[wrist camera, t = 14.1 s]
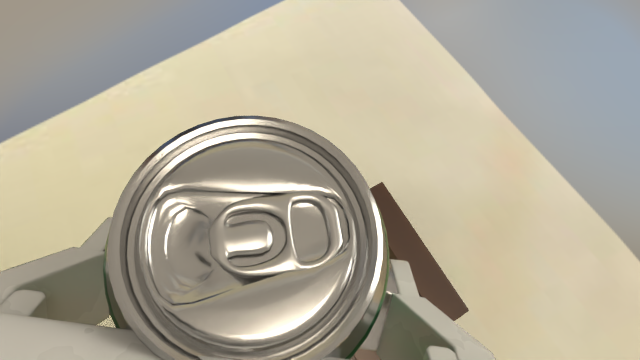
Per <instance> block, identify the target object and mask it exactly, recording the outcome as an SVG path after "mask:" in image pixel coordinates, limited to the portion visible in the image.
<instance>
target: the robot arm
mask: <svg viewBox="0 0 640 360" xmlns="http://www.w3.org/2000/svg"><path fill="white" fill-rule="evenodd" d="M112 218H113V217H109V218H107V219H106V220H105V221H104V222H103V223H102V224H101V225H100V226H99V227H98V228H97V229H96V231H95V232H94V233H93V234H92V235H91V236H90V237H89V238H88V239H87V240H86V241H85V242H84V243H83V245H82V246H81V247H80V248H78V247H72V248H69V249H66V250H63V251H60V252H57V253H54V254H51V255H48V256H45V257H42V258H39V259H36V260H34V261H31V262H28V263H25V264H22V265H19V266H16V267H13V268H10V269H7V270H4V271H1V272H0V360H163V359H161V358H159V357H157V356H156V355H154V354H153V353H152V352H151V351H150V350H149V349H148V348H147V347H146V346H145V345H144V344H143V343H142V342H141V341H140V340H139V339H138V338H137V336H136V335H135V334H134V332H133V331H132V330H127V329H119V328H112V327H105V326H97V324H99V323H100V322H102V321H103V320H105V319H106V318H108V317H109V315H111V314H110V311H109V307H108V303H107V299H106V295H105V288H104V276H103V264H104V251H105V245H106V241H107V237H108V233H109V228H110V225H111V222H112ZM359 349H364V350H370V351H376V353H377V355H378V356H379V357H380V359H381V360H496V359H495V357H494V355H493V353H492V352H491V351H490V350H488V349H487V348H486V347H485V346H483V345H482V344H481V343H480V342H478V341H477V340H476V339H475V338H474V337H472V336H471V335H470V334H469V333H467V332H466V331H465V330H464V329H463V328H461V327H460V326H459V325H458V324H456V323H455V322H454V321H453V320H452V319H450V318H449V317H448V316H447V315H445V314H444V313H443V312H442V311H441V310H439V309H438V308H437V307H436V306H434V305H433V304H432V303H431V302H429V301H428V300H427V299H426V298H423V297H420V296H419V293H418V290H417V287H416V284H415V281H414V278H413V274H412V271H411V268H410V265H409V263H408V262H407V261H404V260H394V259H389V277H388V283H387V289H386V294H385V298H384V301H383V304H382V307H381V310H380V313H379V316H378V318H377V320H376V322H375V324H374V325H373V327H372V329H371V331H370V333H369V335H368V337H367V338H366V340H365V341H364V342H363V344H362V345H361V346H360V348H359ZM198 357H199V358H200V359H202V360H233V359H227V358H217V357H206V356H198ZM322 360H350V359H342V358H335V357H328V358H324V359H322Z"/></svg>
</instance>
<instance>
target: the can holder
mask: <svg viewBox="0 0 640 360" xmlns="http://www.w3.org/2000/svg"><path fill="white" fill-rule="evenodd" d="M370 191H371V193H372V195H373V197H374V199H375V201H376V203H377V205H378V208H379V210H380V212H381V215H382V218H383V222H384V225H385V228H386V232H387V239H388V246H389V259H394V260H404V261H407V262H408V263H409V265H410V268H411V271H412V274H413V278H414V281H415V284H416V287H417V290H418V293H419V296H420V297H423V298H426V299H427V300H428V301H429V302H431V303H432V304H433V305H434V306H436V307H437V308H438V309H439V310H441V311H442V312H443V313H444V314H445V315H447V316H448V317H449V318H450V319H452V320H453V321H455V320H456V319H458V318H459V317H461V316H462V315H464V314H465V313H466V312H468V311H469V310H468V308H467V307H466V305H465V304H464V302H463V301H462V299H461V298H460V296H459V295H458V293H457V292H456V290H455V289H454V288H453V286H452V285H451V283H450V282H449V280H448V279H447V277H446V276H445V274H444V273H443V271H442V270H441V268H440V267H439V265H438V264H437V262H436V261H435V259H434V258H433V256H432V255H431V253H430V252H429V251H428V249H427V248H426V246H425V245H424V243H423V242H422V240H421V239H420V237H419V236H418V234H417V233H416V231H415V230H414V228H413V227H412V225H411V224H410V222H409V221H408V219H407V218H406V216H405V215H404V214H403V212H402V211H401V209H400V208H399V206H398V205H397V203H396V202H395V200H394V199H393V197H392V196H391V194H390V193H389V191H388V190H387V188H386V187H385V185H384V184H383V182H381V183H379V184H378V185H376V186H374V187H372V188H370ZM350 360H381V359H380V357H379V356H378V355H377V353H376V351H370V350H364V349H358V350H357V352H356V353H355V354H354V356H353V357H352V358H351V359H350Z"/></svg>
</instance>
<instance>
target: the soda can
mask: <svg viewBox="0 0 640 360" xmlns="http://www.w3.org/2000/svg"><path fill="white" fill-rule="evenodd" d="M103 276H104V288H105V295H106V299H107V303H108V307H109V311H110V314H111V317H112V319H113V322H114V324H115V326H116V328H119V329H127V330H132V331H133V332H134V334H135V335H136V336H137V338H138V339H139V340H140V341H141V342H142V343H143V344H144V345H145V346H146V347H147V348H148V349H149V350H150V351H151V352H152V353H153V354H154V355H156V356H157V357H159V358H161V359H163V360H202V359H200V358H199V357H198V356H206V357H217V358H227V359H233V360H322V359H324V358H328V357H335V358H342V359H351V358H352V357H353V356H354V354H355V353H356V352H357V350H358V349H359V348H360V346H361V345H362V344H363V342H364V341H365V340H366V338H367V337H368V335H369V333H370V331H371V329H372V327H373V325H374V324H375V322H376V320H377V318H378V316H379V313H380V310H381V307H382V304H383V301H384V298H385V294H386V289H387V283H388V277H389V246H388V239H387V232H386V228H385V225H384V222H383V218H382V215H381V212H380V210H379V208H378V205H377V203H376V201H375V199H374V197H373V195H372V193H371V191H370V189H369V187H368V185H367V182H366V181H365V179H364V178H363V176H362V175H361V173H360V172H359V170H358V169H357V168H356V166H355V165H354V164H353V163H352V162H351V161H350V159H349V158H348V157H347V156H346V155H345V154H344V153H343V152H342V151H341V150H340V149H338V148H337V147H336V146H335V145H333V144H332V143H331V142H330V141H328V140H327V139H325V138H324V137H322V136H320V135H319V134H317V133H315V132H314V131H312V130H310V129H307V128H305V127H303V126H300V125H298V124H295V123H292V122H289V121H285V120H281V119H277V118H271V117H263V116H234V117H228V118H222V119H216V120H213V121H210V122H206V123H203V124H200V125H197V126H195V127H193V128H190V129H188V130H186V131H184V132H182V133H180V134H178V135H177V136H175V137H174V138H172V139H170V140H169V141H167V142H166V143H164V144H163V145H162V146H160V147H159V148H158V149H157V150H156V151H155V152H154V153H152V154H151V155H150V156H149V157H148V158H147V159H146V160H145V161H144V162H143V163H142V165H141V166H140V167H139V168H138V169H137V170H136V172H135V173H134V174H133V176H132V177H131V179H130V180H129V182H128V184H127V185H126V187H125V189H124V190H123V192H122V194H121V196H120V199H119V201H118V203H117V206H116V208H115V210H114V214H113V218H112V222H111V225H110V228H109V233H108V237H107V241H106V245H105V251H104V264H103Z"/></svg>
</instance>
